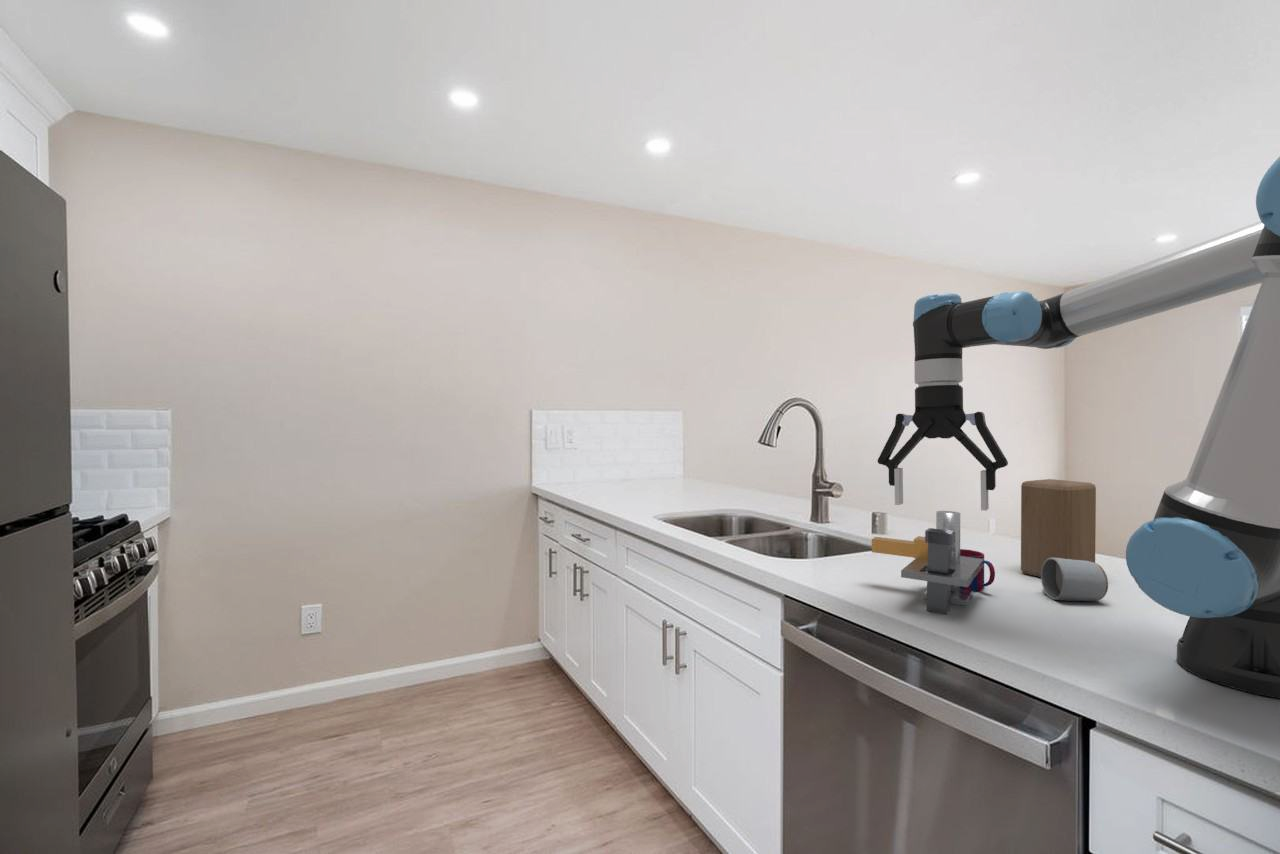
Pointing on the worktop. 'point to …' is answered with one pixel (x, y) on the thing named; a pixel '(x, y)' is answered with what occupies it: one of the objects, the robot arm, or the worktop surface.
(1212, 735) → the worktop surface
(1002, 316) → the robot arm
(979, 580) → the cup
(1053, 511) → the block
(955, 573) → the grey plate with post
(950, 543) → the wedge pin
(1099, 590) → the grey cylinder
